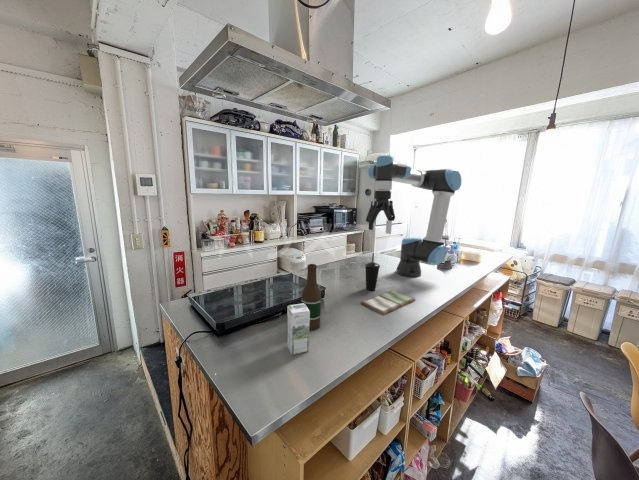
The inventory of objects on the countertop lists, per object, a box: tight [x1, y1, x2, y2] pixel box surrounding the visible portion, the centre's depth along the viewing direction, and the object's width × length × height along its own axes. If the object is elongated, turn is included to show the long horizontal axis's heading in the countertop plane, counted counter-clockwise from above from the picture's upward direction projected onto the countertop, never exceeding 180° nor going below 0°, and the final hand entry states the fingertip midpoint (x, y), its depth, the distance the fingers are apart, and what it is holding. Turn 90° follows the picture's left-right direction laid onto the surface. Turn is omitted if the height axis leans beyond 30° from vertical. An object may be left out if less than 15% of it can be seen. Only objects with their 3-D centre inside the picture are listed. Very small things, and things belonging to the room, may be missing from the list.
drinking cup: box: [364, 252, 381, 293], centre depth 131 cm, size 8×8×20 cm
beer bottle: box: [300, 263, 322, 331], centre depth 93 cm, size 8×8×24 cm
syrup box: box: [286, 303, 310, 356], centre depth 80 cm, size 6×6×14 cm
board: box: [360, 289, 416, 316], centre depth 118 cm, size 24×13×1 cm, turn 129°
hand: (380, 235), depth 122 cm, fingers open, 13 cm apart
